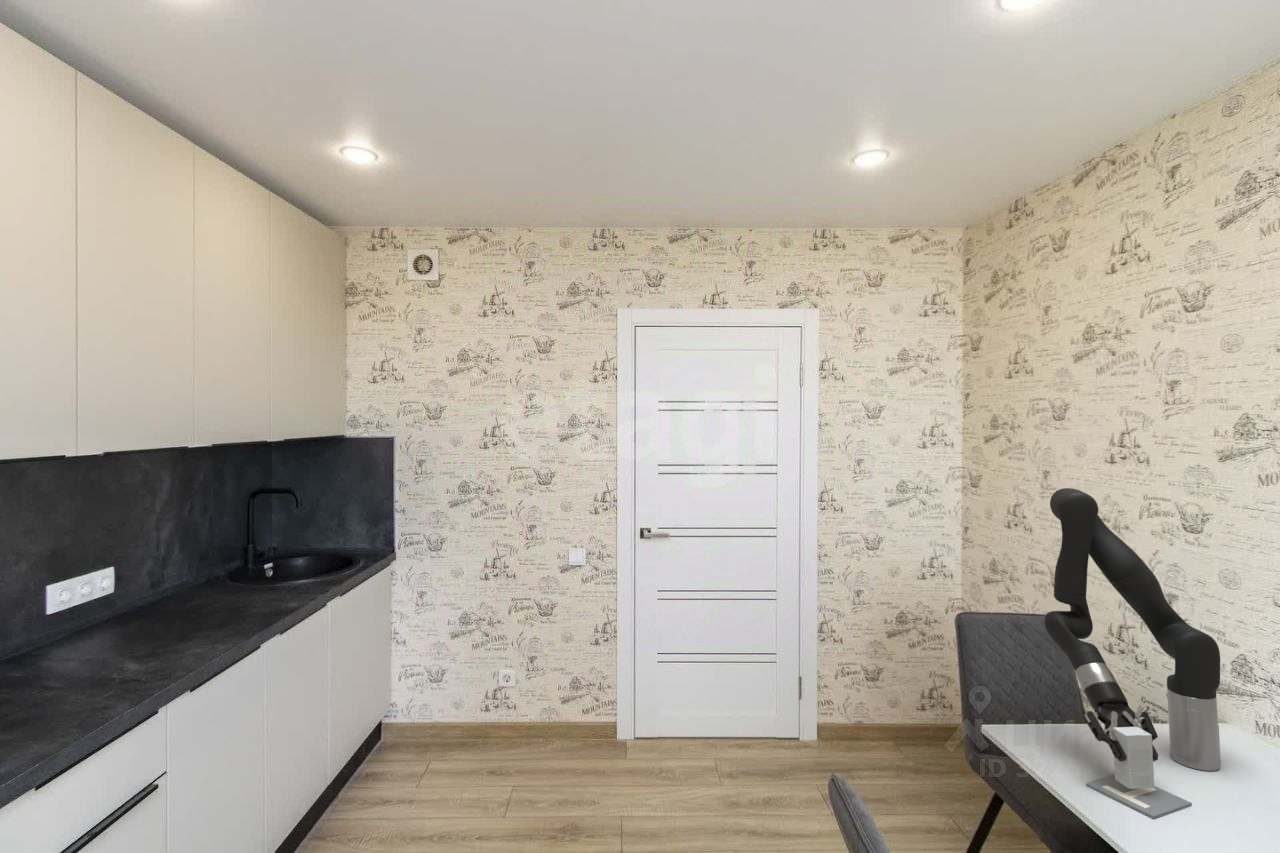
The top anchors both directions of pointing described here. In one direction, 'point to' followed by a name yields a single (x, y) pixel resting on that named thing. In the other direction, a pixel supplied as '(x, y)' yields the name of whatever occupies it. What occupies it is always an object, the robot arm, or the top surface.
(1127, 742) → the skincare box
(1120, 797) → the letter card
